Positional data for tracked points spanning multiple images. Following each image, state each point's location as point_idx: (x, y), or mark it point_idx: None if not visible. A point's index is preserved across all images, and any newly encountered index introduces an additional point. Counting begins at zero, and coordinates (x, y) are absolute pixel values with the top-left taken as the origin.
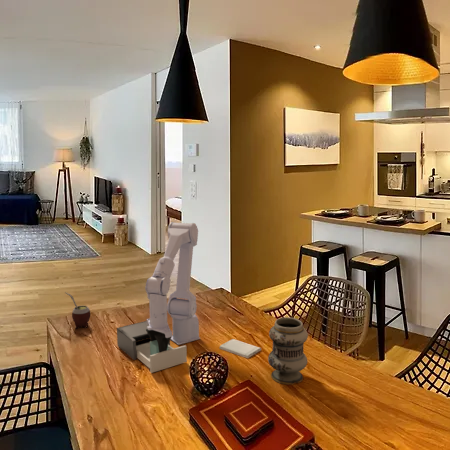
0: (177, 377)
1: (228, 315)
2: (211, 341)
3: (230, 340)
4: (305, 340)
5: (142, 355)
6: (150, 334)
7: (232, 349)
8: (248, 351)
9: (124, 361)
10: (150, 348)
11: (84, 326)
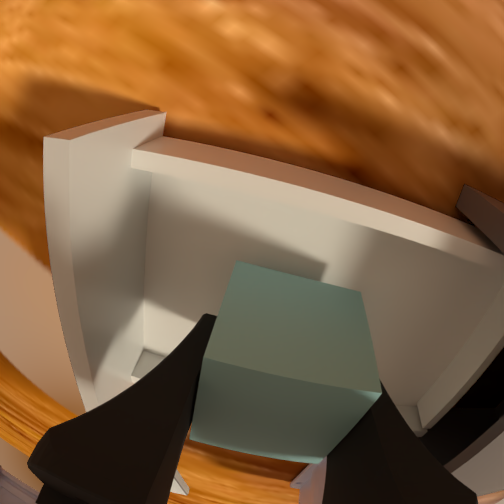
0: (27, 207)
1: None
2: (240, 481)
3: (181, 490)
4: None
5: (383, 214)
6: (388, 484)
7: None
8: None
9: (501, 125)
10: (362, 331)
11: None
